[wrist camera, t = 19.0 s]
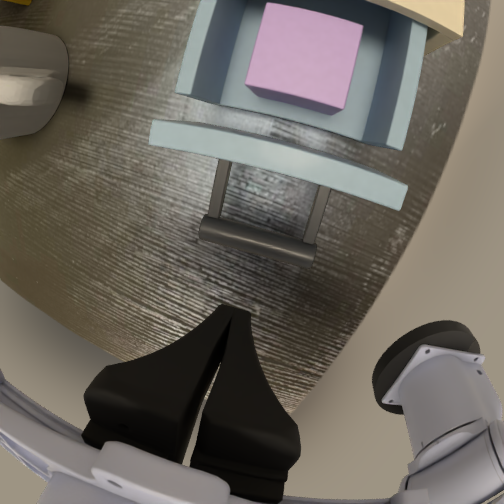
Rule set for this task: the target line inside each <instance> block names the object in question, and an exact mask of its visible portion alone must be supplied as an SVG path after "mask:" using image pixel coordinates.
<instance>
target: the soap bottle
mask: <svg viewBox="0 0 504 504" xmlns="http://www.w3.org/2000/svg"><path fill="white" fill-rule="evenodd" d="M4 1H10V2H14V3H19V4H23V5H28V6H29V4H30V3H31V1H32V0H4Z"/></svg>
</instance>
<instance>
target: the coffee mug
mask: <svg viewBox="0 0 504 504" xmlns="http://www.w3.org/2000/svg"><path fill="white" fill-rule="evenodd" d="M68 66H69V63H68V53H67V50H66V46H65V44H64V43H63V41H62V40H61V39H60V38H59V37H57V36H55V35H52V34H47V33H42V32H37V31H32V30H27V29H21V28H15V27H8V26H0V139H5V138H11V137H17V136H23V135H29V134H33V133H36V132H37V131H39V130H40V129H42V128H43V127H44V126H45V125H46V124H47V123H48V121H49V120H50V119H51V117H52V116H53V115H54V113H55V111H56V109H57V107H58V105H59V103H60V101H61V98H62V96H63V93H64V89H65V86H66V82H67V76H68Z"/></svg>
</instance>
